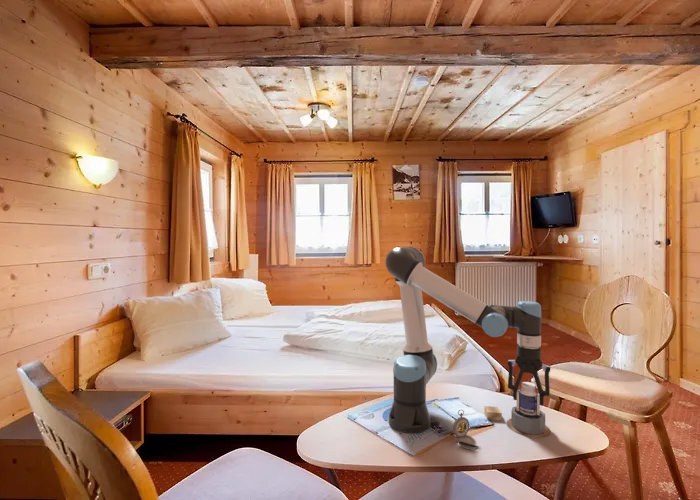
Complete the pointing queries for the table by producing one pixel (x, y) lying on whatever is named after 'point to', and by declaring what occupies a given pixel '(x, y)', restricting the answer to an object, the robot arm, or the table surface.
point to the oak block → (492, 413)
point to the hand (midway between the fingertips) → (528, 411)
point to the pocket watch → (462, 430)
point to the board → (545, 434)
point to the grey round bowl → (528, 422)
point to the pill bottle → (528, 399)
